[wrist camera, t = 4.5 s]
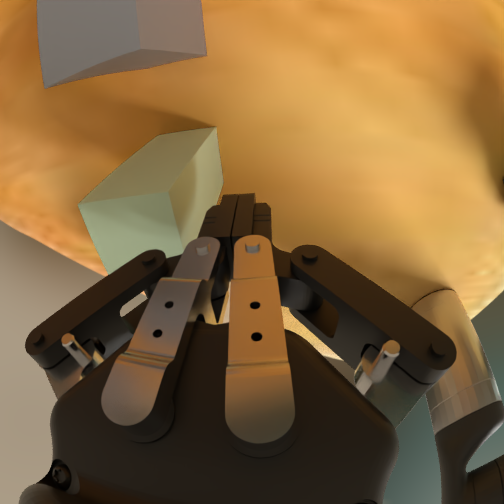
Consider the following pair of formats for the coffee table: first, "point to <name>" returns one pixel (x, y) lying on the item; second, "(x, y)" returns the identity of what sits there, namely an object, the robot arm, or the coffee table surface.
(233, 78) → the coffee table surface
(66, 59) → the slate grey pillar
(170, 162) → the sage green pillar
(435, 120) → the coffee table surface
